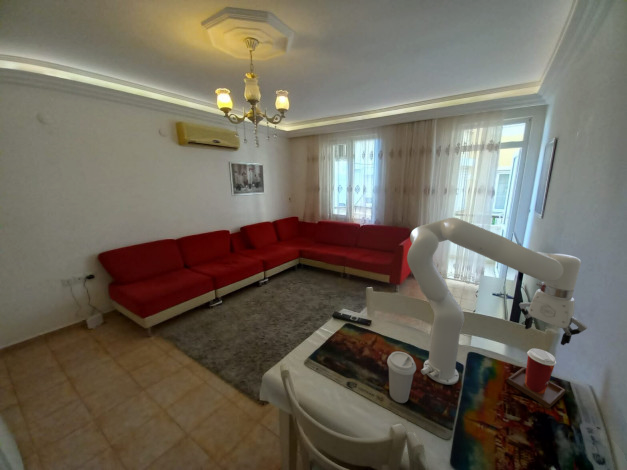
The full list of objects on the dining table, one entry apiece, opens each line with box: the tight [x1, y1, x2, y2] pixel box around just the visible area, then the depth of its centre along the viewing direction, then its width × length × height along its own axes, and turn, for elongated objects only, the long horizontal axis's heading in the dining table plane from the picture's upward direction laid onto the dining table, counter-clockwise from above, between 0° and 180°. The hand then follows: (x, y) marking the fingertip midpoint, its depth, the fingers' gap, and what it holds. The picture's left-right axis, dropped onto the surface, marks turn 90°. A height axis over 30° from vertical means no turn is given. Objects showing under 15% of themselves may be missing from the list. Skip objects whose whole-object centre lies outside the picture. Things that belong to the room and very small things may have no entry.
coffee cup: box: [386, 351, 417, 404], centre depth 84 cm, size 10×10×15 cm
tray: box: [506, 366, 566, 409], centre depth 88 cm, size 12×12×2 cm
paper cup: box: [525, 347, 557, 394], centre depth 86 cm, size 8×8×14 cm
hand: (544, 335), depth 83 cm, fingers open, 9 cm apart
